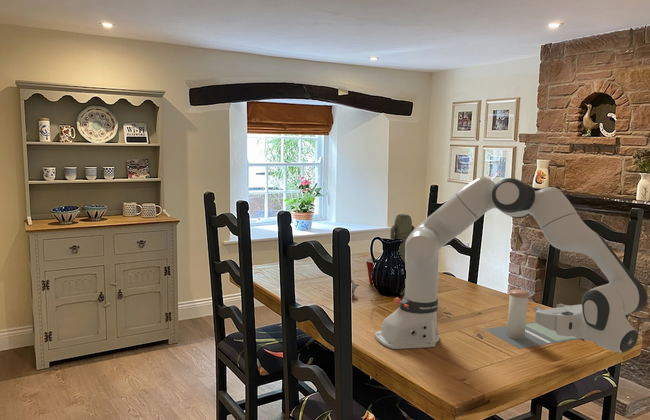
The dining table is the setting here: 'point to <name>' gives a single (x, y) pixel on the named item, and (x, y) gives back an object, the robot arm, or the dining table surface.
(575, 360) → the dining table surface
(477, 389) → the dining table surface
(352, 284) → the game die
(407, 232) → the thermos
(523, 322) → the ball canister
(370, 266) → the plastic cup
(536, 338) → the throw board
